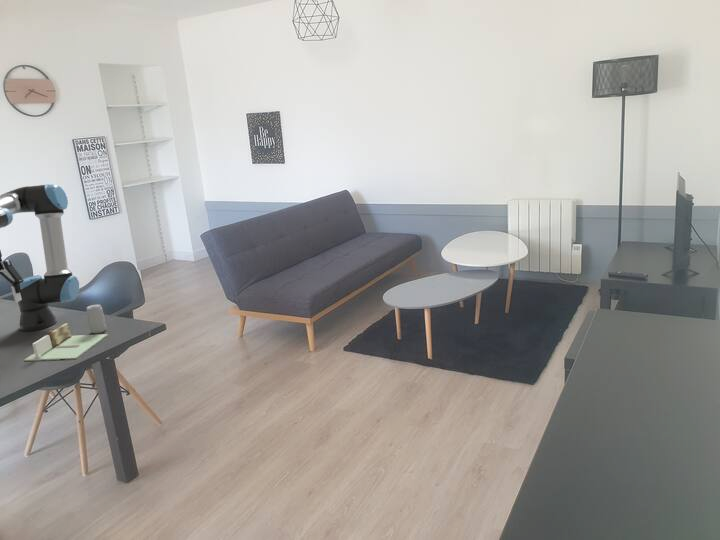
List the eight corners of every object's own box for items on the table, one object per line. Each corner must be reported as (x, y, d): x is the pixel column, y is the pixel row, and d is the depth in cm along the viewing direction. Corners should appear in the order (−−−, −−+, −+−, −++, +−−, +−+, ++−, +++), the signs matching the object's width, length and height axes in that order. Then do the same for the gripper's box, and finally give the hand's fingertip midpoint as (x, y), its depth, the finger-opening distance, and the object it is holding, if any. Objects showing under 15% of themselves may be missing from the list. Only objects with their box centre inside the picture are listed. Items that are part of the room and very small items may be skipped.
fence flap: (48, 348, 230) (45, 335, 228) (53, 348, 230) (50, 334, 228) (34, 357, 221) (30, 343, 220) (40, 357, 221) (36, 343, 219)
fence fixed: (67, 338, 243) (63, 320, 240) (72, 337, 242) (68, 320, 240) (50, 349, 231) (45, 331, 229) (55, 349, 230) (50, 331, 228)
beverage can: (90, 335, 243) (85, 309, 240) (91, 330, 249) (86, 305, 246) (106, 332, 245) (101, 306, 242) (107, 327, 251) (101, 302, 248)
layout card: (60, 337, 244) (60, 336, 244) (108, 335, 242) (107, 333, 241) (24, 361, 221) (23, 359, 221) (76, 359, 219) (76, 357, 218)
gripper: (-50, 253, 208) (-34, 306, 214) (11, 249, 205) (25, 303, 211) (-35, 248, 215) (-20, 299, 221) (24, 244, 212) (38, 297, 218)
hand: (2, 301), depth 216 cm, fingers open, 13 cm apart
